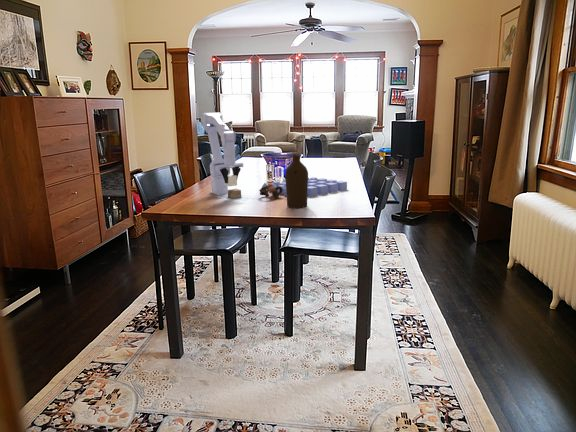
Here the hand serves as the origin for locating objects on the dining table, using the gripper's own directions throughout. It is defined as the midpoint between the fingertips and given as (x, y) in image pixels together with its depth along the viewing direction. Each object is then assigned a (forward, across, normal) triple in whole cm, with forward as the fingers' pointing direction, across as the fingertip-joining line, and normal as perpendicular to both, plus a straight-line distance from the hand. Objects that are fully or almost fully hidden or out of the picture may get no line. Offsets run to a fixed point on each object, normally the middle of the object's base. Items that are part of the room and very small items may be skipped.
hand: (230, 182), depth 229 cm
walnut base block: (+8, +2, 0) cm, 8 cm away
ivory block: (+2, 0, 0) cm, 2 cm away
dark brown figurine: (+9, +16, -14) cm, 23 cm away
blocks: (+9, +42, -6) cm, 43 cm away
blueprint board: (+8, +2, 0) cm, 9 cm away
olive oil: (+9, +15, -36) cm, 40 cm away
